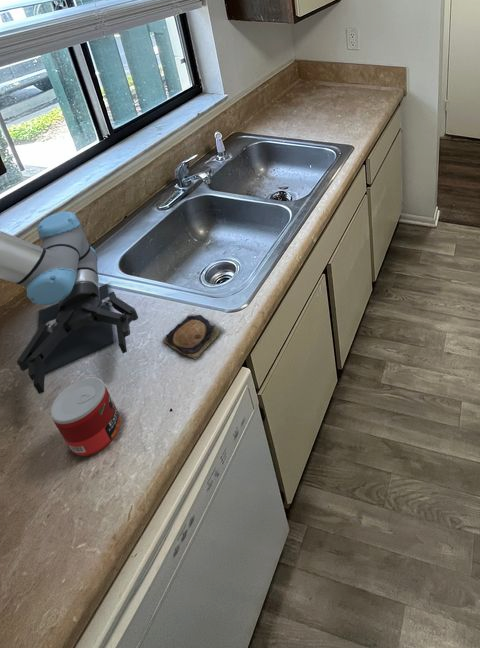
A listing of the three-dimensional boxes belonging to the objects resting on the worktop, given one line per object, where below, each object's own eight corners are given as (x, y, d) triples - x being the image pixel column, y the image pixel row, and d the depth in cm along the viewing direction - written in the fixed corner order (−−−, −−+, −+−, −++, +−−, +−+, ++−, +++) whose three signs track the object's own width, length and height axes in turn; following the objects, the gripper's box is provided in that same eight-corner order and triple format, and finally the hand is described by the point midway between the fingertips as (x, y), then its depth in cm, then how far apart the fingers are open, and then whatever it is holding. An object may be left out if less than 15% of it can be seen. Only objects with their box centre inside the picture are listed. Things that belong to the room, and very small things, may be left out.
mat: (35, 378, 91) (34, 377, 91) (40, 312, 106) (39, 310, 105) (113, 342, 98) (113, 341, 98) (107, 285, 113) (106, 283, 113)
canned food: (123, 439, 80) (105, 403, 76) (71, 468, 76) (48, 432, 72) (120, 403, 86) (103, 368, 81) (71, 429, 82) (50, 393, 77)
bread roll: (224, 331, 100) (221, 320, 99) (194, 363, 94) (190, 351, 92) (192, 314, 105) (189, 303, 103) (160, 342, 98) (156, 331, 96)
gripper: (145, 281, 108) (158, 345, 92) (17, 334, 95) (7, 419, 80) (136, 258, 105) (149, 321, 89) (2, 310, 92) (-10, 394, 76)
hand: (82, 367), depth 84 cm, fingers open, 13 cm apart
